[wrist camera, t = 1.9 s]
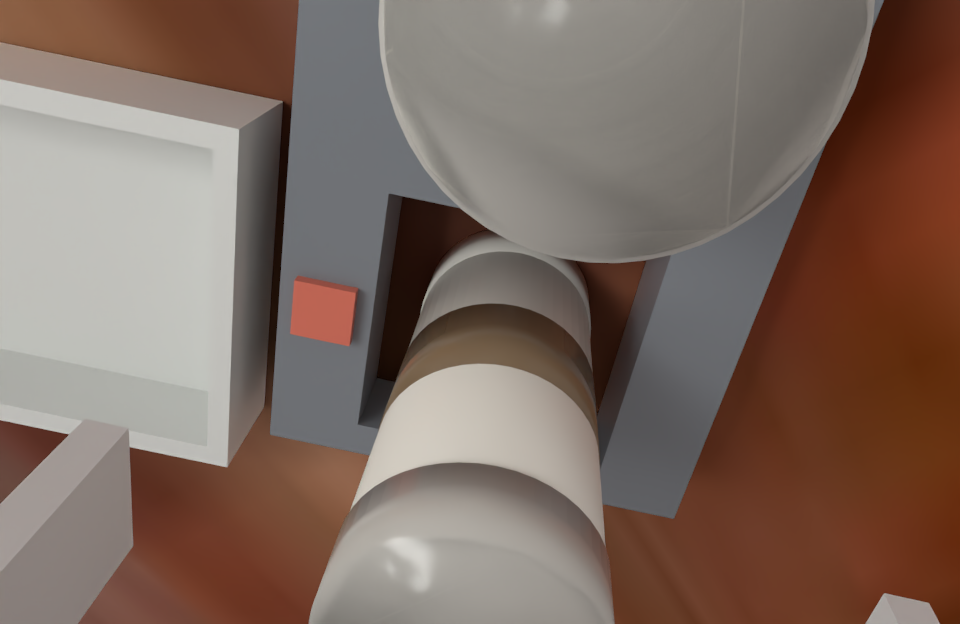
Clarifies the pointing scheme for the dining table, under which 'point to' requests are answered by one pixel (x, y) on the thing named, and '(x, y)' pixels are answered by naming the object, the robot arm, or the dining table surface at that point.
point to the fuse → (619, 111)
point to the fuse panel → (398, 173)
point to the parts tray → (134, 252)
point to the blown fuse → (483, 458)
